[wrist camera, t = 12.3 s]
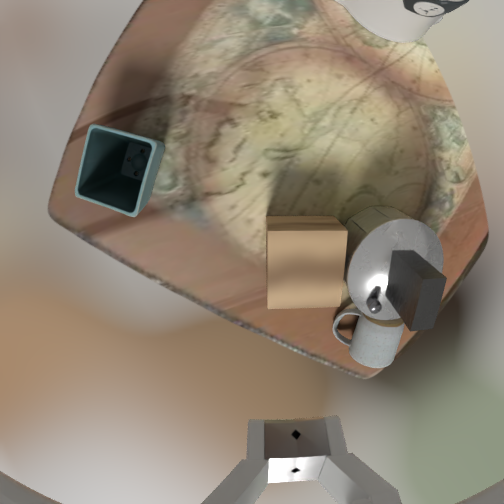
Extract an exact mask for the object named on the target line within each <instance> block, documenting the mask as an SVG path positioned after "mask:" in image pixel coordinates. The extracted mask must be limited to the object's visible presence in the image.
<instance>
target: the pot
mask: <svg viewBox="0 0 504 504" xmlns="http://www.w3.org/2000/svg"><path fill="white" fill-rule="evenodd" d="M403 217H405V218H411V217H409V216H408V215H406V214H404V213H402V212H401V211H399V210H397V209H395V208H394V207H385V206H371V207H368V208H366V209H364V210H362V211H361V212H359V213H357V214H355V215H354V216H352V217H350V219H348V221H347V222H346V224H345V226H344V227H345V228H346V229H347V230H348V234H347V246H346V257H345V267H344V277H343V280H344V282H345V284H346V286H347V280H346V277H347V268H348V263H349V260H350V257H351V255H352V253H353V251H354V249H355V247H356V245H357V244H358V243H359V241H360V240H361V239H362V238H363V237H364V235H365V234H366V233H367V232H369V231H370V230H371V229H372V228H374V227H375V226H377V225H378V224H380V223H382V222H384V221H387V220H390V219H394V218H403ZM412 219H413V218H412ZM347 288H348V287H347Z"/></svg>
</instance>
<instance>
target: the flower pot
mask: <svg viewBox="0 0 504 504" xmlns="http://www.w3.org/2000/svg"><path fill="white" fill-rule="evenodd" d="M142 149H144V150H145V152H144V153H142V152H141V150H142ZM164 150H165V144H164V143H163V142H161V141H158V140H154V139H151V138H147V137H144V136H140V135H137V134H133V133H130V132H126V131H122V130H119V129H115V128H111V127H106V126H102V125H97V124H91V125H90V127H89V129H88V133H87V137H86V141H85V146H84V150H83V154H82V159H81V163H80V168H79V173H78V178H77V183H76V187H75V195H76V196H77V197H79V198H81V199H84V200H87V201H90V202H93V203H96V204H99V205H102V206H104V207H107V208H110V209H113V210H115V211H118V212H121V213H123V214H126V215H128V216H132V217H136V216H137V215H138V213H139V212H140V211H141V210H142V209H143V208H144V206H145V205H146V204H147V203H148V201H149V199H150V196H151V193H152V190H153V186H154V182H155V179H156V175H157V172H158V169H159V165H160V162H161V159H162V156H163V153H164ZM129 157H130V158H131V161H129V160H128V158H129ZM135 172H138V175H135Z"/></svg>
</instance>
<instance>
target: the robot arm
mask: <svg viewBox="0 0 504 504" xmlns="http://www.w3.org/2000/svg"><path fill="white" fill-rule="evenodd" d="M335 1H337V2H338V3H340V4H342V5H343V6H344V7H345V8H346V9H347V10H348V11H349V13H350V14H351V15H352V16H353V17H354V18H355V19H356V20H357V21H358V22H359V23H360V24H361V25H362V26H363V27H365V28H366V29H367V30H369V31H370V32H372V33H374V34H376V35H378V36H380V37H382V38H384V39H387V40H390V41H394V42H402V43H406V42H413V41H416V40H418V39H420V38H421V37H422V36H423V35H424V34H425V33H426V32H427V30H428V29H429V28H430V27H431V26H432V25H434V24H436V23H438V22H439V21H441V20H442V18H443V15H444V14H446V13H449V12H451V11H453V10H455V9H457V8H458V7H460V6H462V5H465V3H467V2H468V1H469V0H335ZM247 437H248V438H247V459H245V460H241V461H240V462H239V464H238V465H237V466H236V467H235V468H234V469H233V470H232V471H231V473H230V474H229V475H228V476H227V477H226V478H225V479H224V480H223V481H222V483H220V485H219V486H218V487H217V488H216V489H215V490H214V491H213V492H212V493H211V494H210V495H209V496H208V497H207V498H206V499H205V500H204V501H203V502H202V503H201V504H254V503H255V502H256V500H257V499H258V498H259V496H260V495H261V493H262V492H263V491H264V489H265V488H266V486H267V485H268V483H274V482H290V481H309V480H318V482H319V483H320V484H321V485H322V486H323V488H325V490H326V491H327V492H328V493H329V494H330V495H331V497H332V498H333V499H334V500H335V501H336V502H337V503H338V504H402V503H401V500H400V496H399V492H398V490H397V489H396V488H394V487H393V486H392V485H391V484H389V483H388V482H387V481H386V480H384V479H383V478H382V477H380V476H379V475H378V474H377V473H376V472H374V471H373V470H372V469H371V468H370V467H368V466H367V465H366V464H365V463H364V462H362V461H361V460H360V459H359V458H358V457H356V456H355V455H354V454H353V453H348V452H347V447H346V442H345V438H344V434H343V430H342V426H341V421H340V418H339V416H337V415H336V416H328V417H312V418H299V419H286V420H255V419H250V420H249V422H248V436H247ZM0 504H62V503H59V502H57V501H55V500H53V499H51V498H48V497H46V496H44V495H42V494H40V493H38V492H36V491H34V490H32V489H30V488H29V487H27V486H25V485H23V484H21V483H20V482H18V481H16V480H14V479H13V478H11V477H9V476H7V475H6V474H4V473H3V472H1V471H0ZM456 504H504V479H503V480H501V481H499V482H497V483H496V484H494V485H492V486H490V487H488V488H486V489H485V490H483V491H481V492H479V493H477V494H475V495H473V496H471V497H469V498H467V499H464V500H462V501H460V502H458V503H456Z"/></svg>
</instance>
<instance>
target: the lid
mask: <svg viewBox="0 0 504 504" xmlns="http://www.w3.org/2000/svg"><path fill="white" fill-rule="evenodd" d="M442 269H443V250H442V246H441V243H440V241H439V239H438V237H437V235H436V234H435V233H434V231H433V230H432V229H431V228H430V227H428V226H427V225H425V224H424V223H422V222H420V221H418V220H415V219H412V218H405V217H403V218H394V219H390V220H387V221H384V222H382V223H380V224H378V225H377V226H375V227H374V228H372V229H371V230H370V231H369V232H367V233H366V234H365V235H364V237H363V238H362V239H361V240H360V241H359V243H358V244H357V245H356V247H355V249H354V251H353V253H352V255H351V257H350V260H349V263H348V268H347V277H346V280H347V287H348V292H349V294H350V297H351V298H352V300H353V302H354V304H355V305H356V306H357V308H358V309H359V310H360V311H361V312H363V313H364V314H365V315H367V316H369V317H372V318H375V319H379V320H393V319H398V318H401V319H402V320H403V322H404V323H405V324H406V326H407V327H408V329H409V330H410V331H417V330H425V329H432V328H433V326H434V323H435V320H436V317H437V313H438V310H439V306H440V303H441V299H442V295H443V291H444V287H445V283H446V279H447V278H446V277H445V276H444V275H443V274H442Z"/></svg>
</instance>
